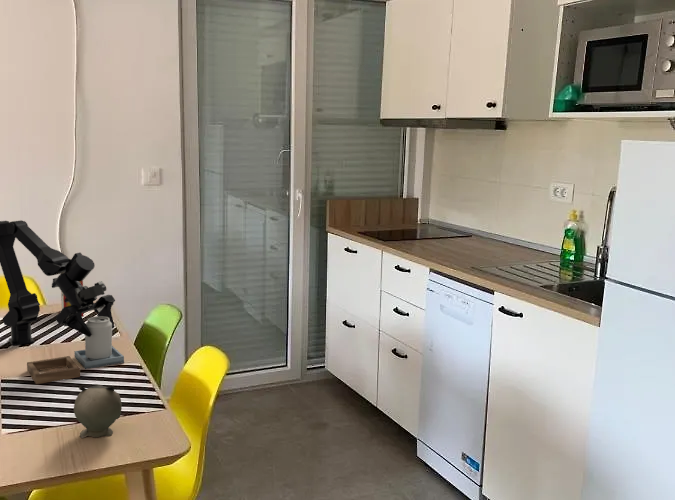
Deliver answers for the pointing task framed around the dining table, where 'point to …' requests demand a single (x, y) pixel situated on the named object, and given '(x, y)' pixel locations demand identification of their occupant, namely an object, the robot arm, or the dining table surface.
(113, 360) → the tray
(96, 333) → the can
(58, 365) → the holder collar
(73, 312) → the robot arm
